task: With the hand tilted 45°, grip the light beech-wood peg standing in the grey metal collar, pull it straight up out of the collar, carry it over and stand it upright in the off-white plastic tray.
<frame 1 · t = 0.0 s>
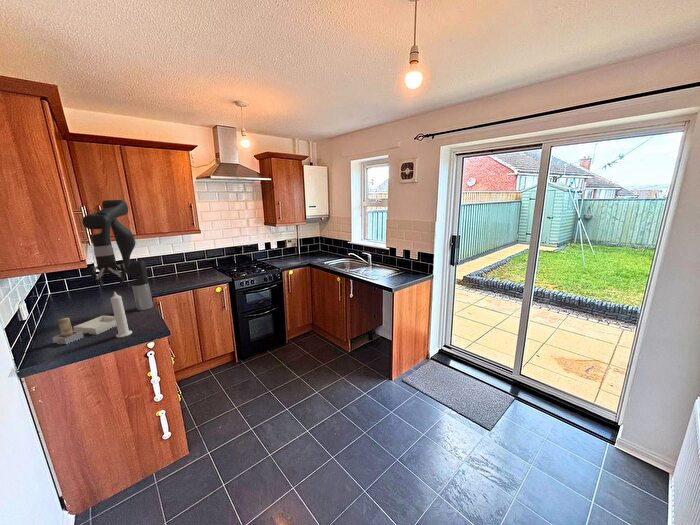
hand: (111, 284, 148), 29 cm above the worktop, tool pointing down, fingers open, 8 cm apart
collar: (69, 340, 152), on the worktop
candle: (124, 334, 156), on the worktop
tray: (100, 327, 167), on the worktop
peg: (66, 330, 150), in the collar
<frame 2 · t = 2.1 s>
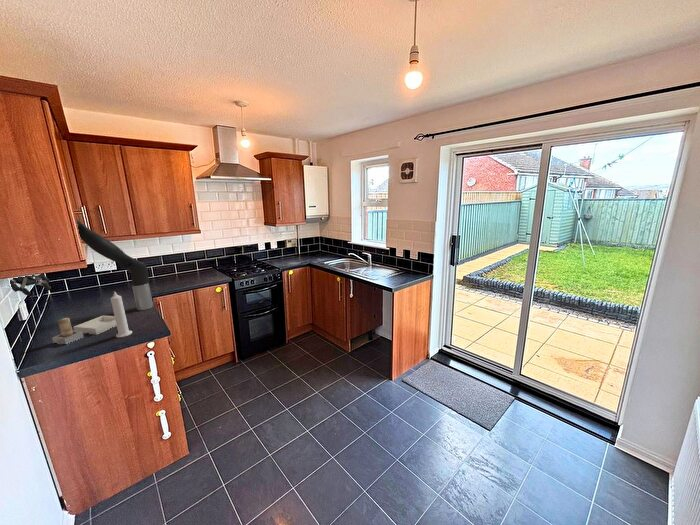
hand: (40, 292, 147), 27 cm above the worktop, tool tilted 45°, fingers open, 8 cm apart
nothing on the worktop moved.
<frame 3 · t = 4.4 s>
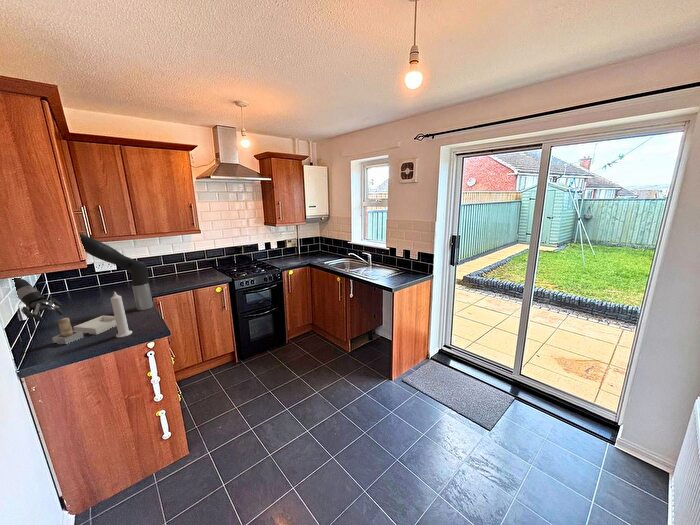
hand: (52, 317, 150), 13 cm above the worktop, tool tilted 45°, fingers open, 8 cm apart
nothing on the worktop moved.
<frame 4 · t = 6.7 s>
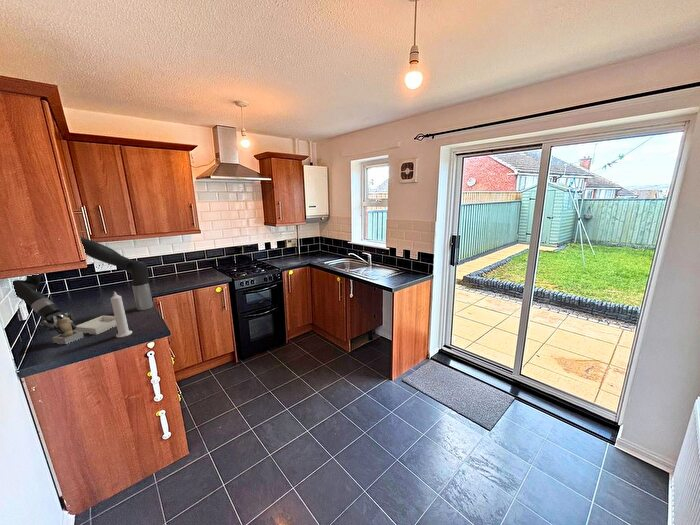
hand: (69, 330, 150), 6 cm above the worktop, tool tilted 45°, fingers closed on peg, 4 cm apart
peg: (66, 329, 150), in the collar, touching gripper
everything else where it was.
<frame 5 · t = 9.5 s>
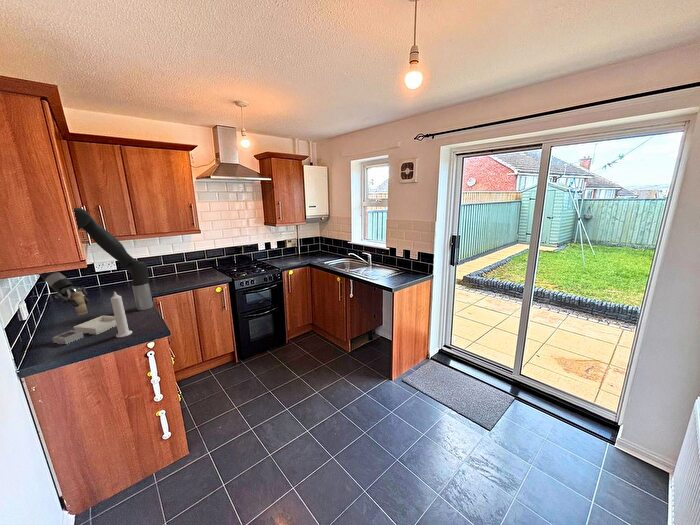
hand: (82, 304, 156), 17 cm above the worktop, tool tilted 45°, fingers closed on peg, 4 cm apart
peg: (79, 303, 156), point 18 cm above the worktop, touching gripper
everything else where it was.
when the fingers open (8 cm above the worktop, at t = 12.3 s): peg drops 1 cm, resting on tray.
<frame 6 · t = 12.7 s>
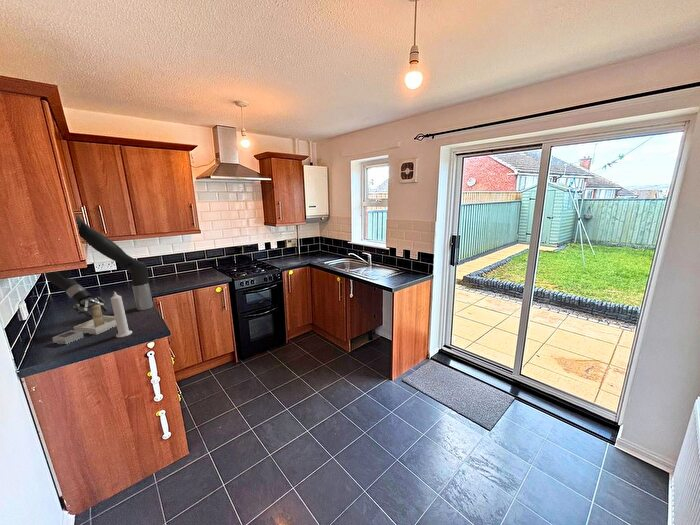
hand: (99, 313, 165), 9 cm above the worktop, tool tilted 45°, fingers open, 8 cm apart
peg: (97, 316, 165), in the tray, point 7 cm above the worktop
everything else where it was.
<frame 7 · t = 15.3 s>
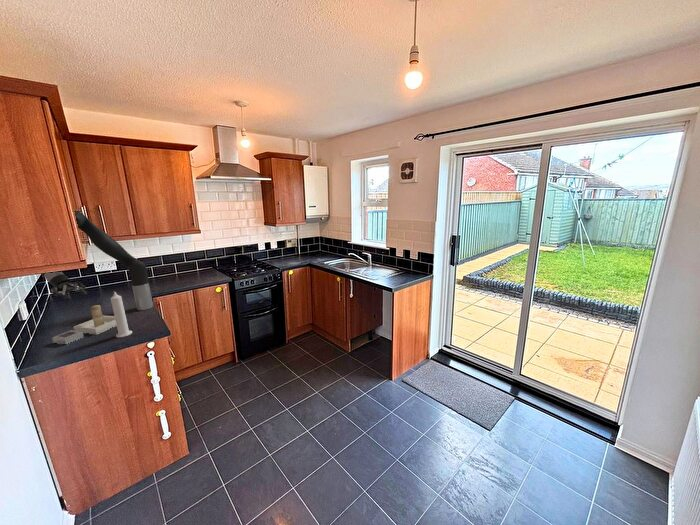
hand: (77, 297, 165), 18 cm above the worktop, tool tilted 45°, fingers open, 8 cm apart
nothing on the worktop moved.
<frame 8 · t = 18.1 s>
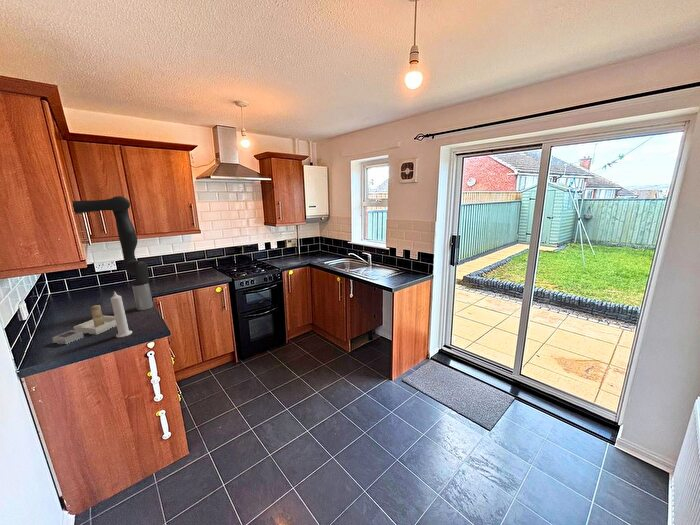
hand: (64, 267, 163), 36 cm above the worktop, tool pointing down, fingers open, 8 cm apart
nothing on the worktop moved.
at the end: peg inside the target area on the tray (0.2 cm from its centre), point 7.0 cm above the tray's base; peg tilted 0°; the gripper is holding nothing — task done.
